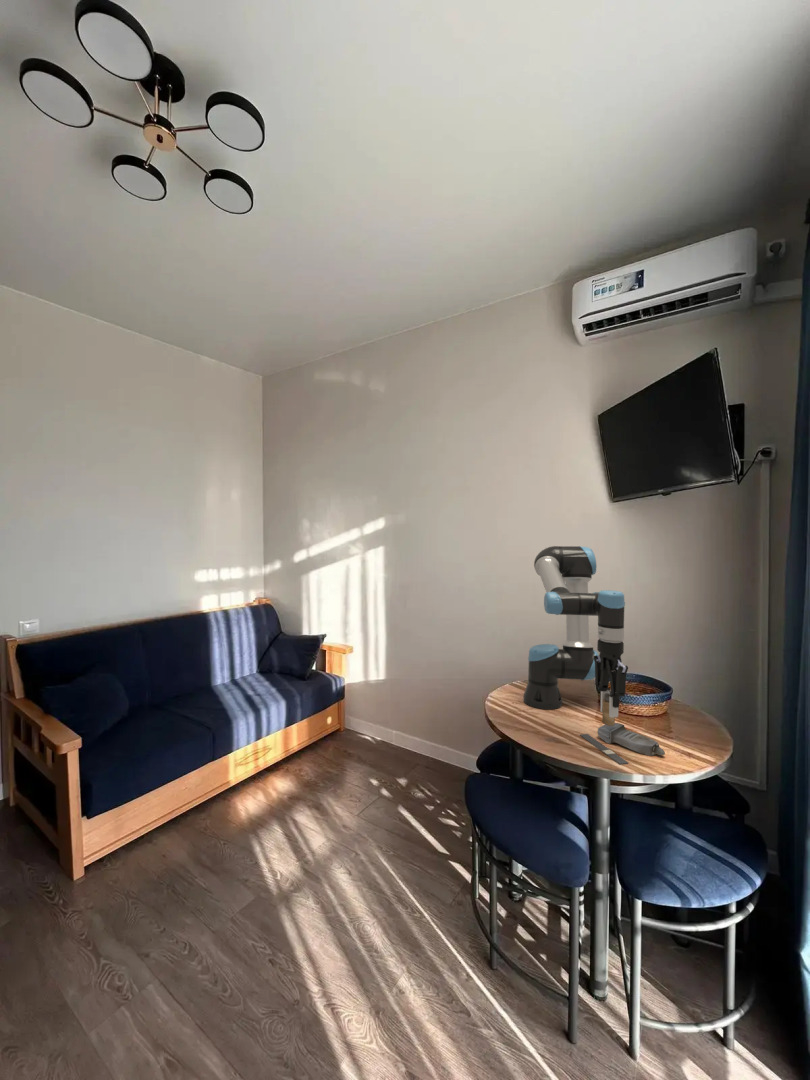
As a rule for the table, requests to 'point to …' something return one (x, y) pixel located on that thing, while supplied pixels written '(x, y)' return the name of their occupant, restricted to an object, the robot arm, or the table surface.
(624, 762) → the strip
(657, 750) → the handheld device
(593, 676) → the robot arm
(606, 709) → the tan bottle
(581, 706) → the table surface
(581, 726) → the table surface
